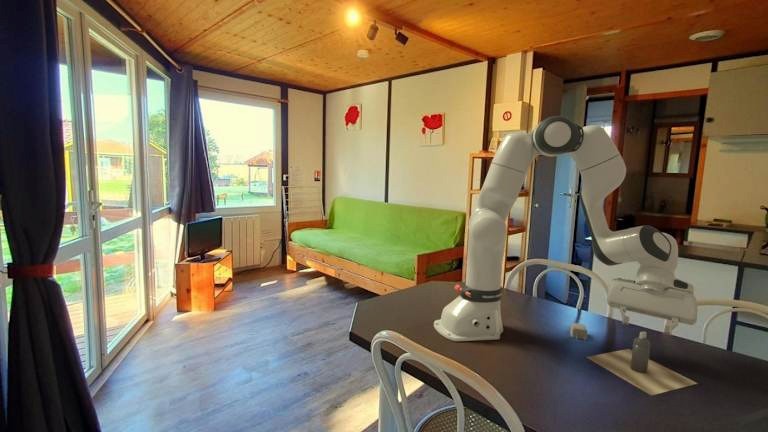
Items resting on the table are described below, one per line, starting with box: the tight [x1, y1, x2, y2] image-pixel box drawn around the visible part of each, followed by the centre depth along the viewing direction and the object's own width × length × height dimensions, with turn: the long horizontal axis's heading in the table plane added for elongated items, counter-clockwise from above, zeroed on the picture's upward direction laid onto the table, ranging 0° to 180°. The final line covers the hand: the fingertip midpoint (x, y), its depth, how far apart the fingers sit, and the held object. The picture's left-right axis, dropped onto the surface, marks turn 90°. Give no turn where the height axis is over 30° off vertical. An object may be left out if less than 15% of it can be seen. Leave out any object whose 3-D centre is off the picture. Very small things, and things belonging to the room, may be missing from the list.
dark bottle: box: [630, 331, 651, 373], centre depth 96 cm, size 4×4×10 cm
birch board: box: [586, 348, 699, 396], centre depth 97 cm, size 16×18×1 cm
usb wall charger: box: [569, 322, 588, 341], centre depth 115 cm, size 4×7×4 cm, turn 161°
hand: (645, 328), depth 100 cm, fingers open, 8 cm apart
